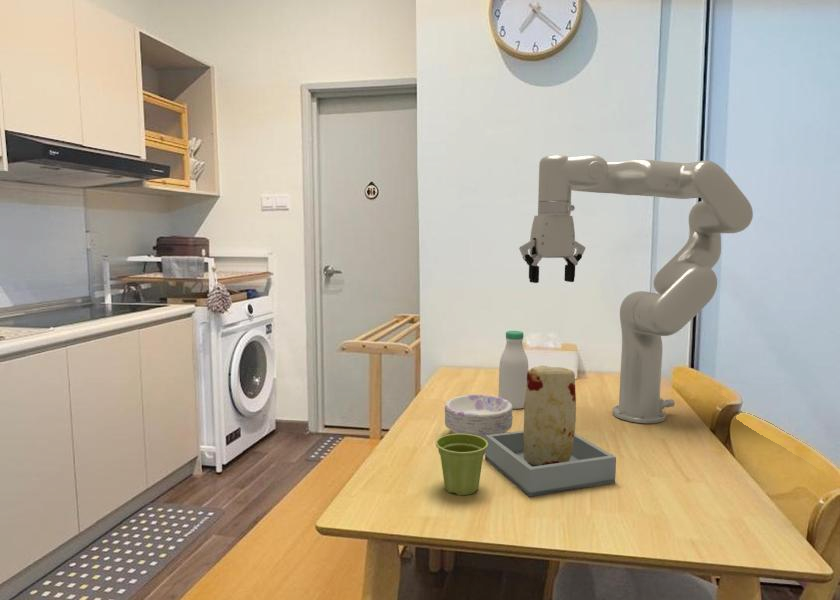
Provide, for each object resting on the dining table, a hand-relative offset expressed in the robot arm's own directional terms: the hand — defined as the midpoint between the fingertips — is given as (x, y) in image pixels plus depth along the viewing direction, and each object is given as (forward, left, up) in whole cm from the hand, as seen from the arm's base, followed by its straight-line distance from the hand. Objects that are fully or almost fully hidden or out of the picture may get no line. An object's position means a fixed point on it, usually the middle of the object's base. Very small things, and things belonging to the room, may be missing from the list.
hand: (551, 282), depth 138 cm
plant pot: (+35, +28, -35) cm, 57 cm away
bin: (+16, +26, -34) cm, 46 cm away
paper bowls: (+21, +5, -35) cm, 41 cm away
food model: (+16, +26, -34) cm, 45 cm away
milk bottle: (+2, -14, -34) cm, 37 cm away
